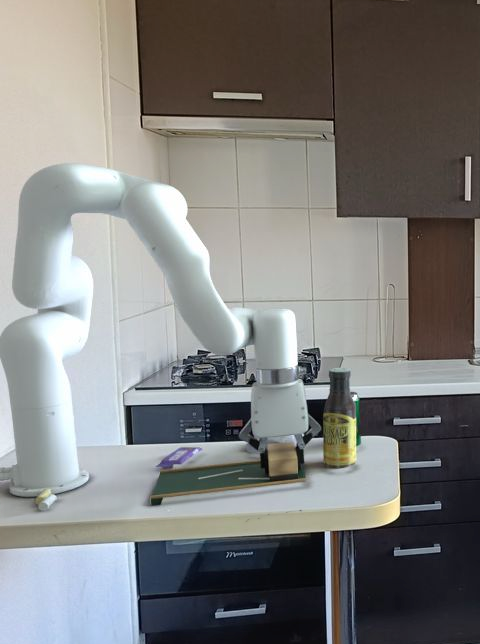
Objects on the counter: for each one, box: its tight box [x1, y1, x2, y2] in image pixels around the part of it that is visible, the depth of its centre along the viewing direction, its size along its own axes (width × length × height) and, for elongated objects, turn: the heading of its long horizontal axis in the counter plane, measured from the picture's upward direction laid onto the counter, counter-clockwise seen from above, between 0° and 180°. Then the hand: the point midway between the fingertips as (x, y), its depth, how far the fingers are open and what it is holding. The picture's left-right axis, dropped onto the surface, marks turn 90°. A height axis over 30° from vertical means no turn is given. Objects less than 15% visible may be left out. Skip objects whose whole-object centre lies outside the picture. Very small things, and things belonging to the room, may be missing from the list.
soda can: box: [350, 391, 362, 447], centre depth 157 cm, size 5×5×12 cm
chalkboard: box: [149, 459, 308, 506], centre depth 139 cm, size 26×14×2 cm, turn 108°
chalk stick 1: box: [34, 489, 51, 505], centre depth 131 cm, size 2×4×2 cm
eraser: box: [268, 442, 298, 482], centre depth 141 cm, size 5×10×4 cm, turn 18°
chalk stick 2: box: [37, 494, 57, 512], centre depth 128 cm, size 2×4×2 cm
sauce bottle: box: [322, 367, 357, 469], centre depth 144 cm, size 6×6×20 cm
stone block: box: [245, 433, 305, 454], centre depth 158 cm, size 12×5×10 cm
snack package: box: [155, 446, 203, 469], centre depth 151 cm, size 12×2×5 cm
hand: (282, 468), depth 141 cm, fingers open, 5 cm apart
